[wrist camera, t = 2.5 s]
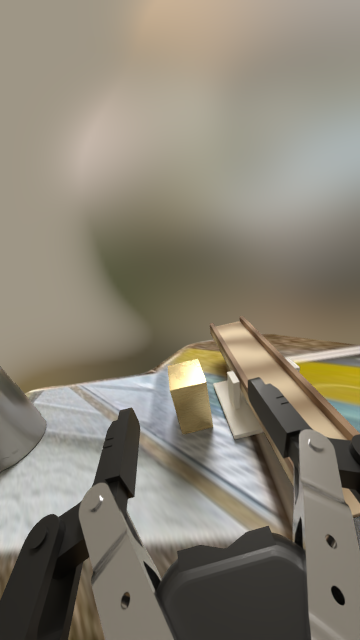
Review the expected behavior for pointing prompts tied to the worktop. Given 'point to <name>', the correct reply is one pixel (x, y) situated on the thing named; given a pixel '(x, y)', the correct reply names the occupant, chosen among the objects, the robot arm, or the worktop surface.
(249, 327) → the balance beam
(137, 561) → the robot arm
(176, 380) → the block
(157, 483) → the worktop surface
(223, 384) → the beam stand
